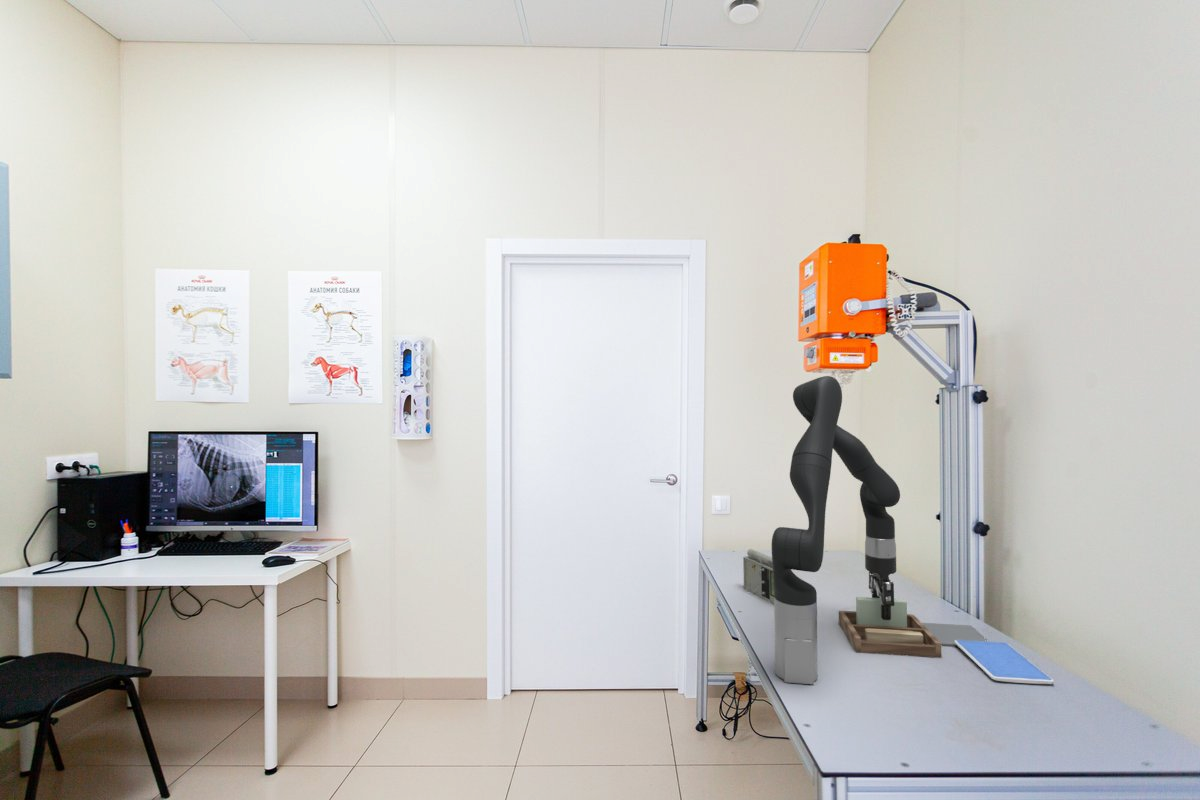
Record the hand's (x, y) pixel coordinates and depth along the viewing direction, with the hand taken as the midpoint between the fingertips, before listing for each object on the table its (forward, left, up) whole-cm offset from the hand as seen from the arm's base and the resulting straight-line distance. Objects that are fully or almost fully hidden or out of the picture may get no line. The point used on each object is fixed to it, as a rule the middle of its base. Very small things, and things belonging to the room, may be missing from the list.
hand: (881, 613), depth 153 cm
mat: (+1, -18, -5) cm, 19 cm away
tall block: (0, 0, -5) cm, 5 cm away
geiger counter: (+22, +26, -5) cm, 34 cm away
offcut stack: (-9, 0, -5) cm, 11 cm away
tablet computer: (-15, -22, -5) cm, 27 cm away
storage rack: (-4, 0, -5) cm, 7 cm away
